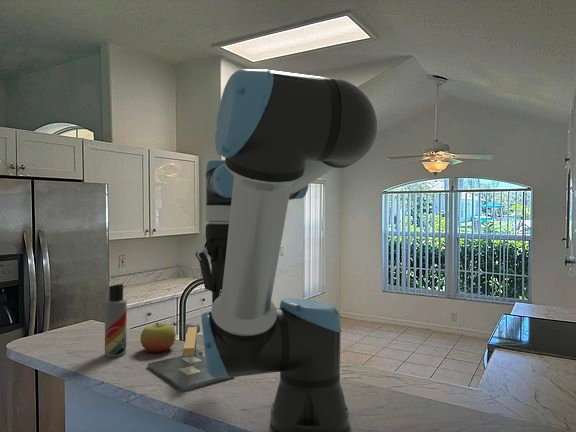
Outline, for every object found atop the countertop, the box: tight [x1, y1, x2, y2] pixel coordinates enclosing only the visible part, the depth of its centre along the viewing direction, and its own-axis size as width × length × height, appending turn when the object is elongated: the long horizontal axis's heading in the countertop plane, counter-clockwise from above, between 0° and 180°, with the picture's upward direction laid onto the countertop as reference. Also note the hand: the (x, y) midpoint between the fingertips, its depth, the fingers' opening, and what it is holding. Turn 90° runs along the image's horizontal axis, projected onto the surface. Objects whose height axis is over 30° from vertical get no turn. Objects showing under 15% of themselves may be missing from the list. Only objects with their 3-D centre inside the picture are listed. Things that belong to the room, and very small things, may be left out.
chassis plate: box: [147, 353, 231, 393], centre depth 107 cm, size 20×14×1 cm
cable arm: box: [183, 322, 201, 356], centre depth 111 cm, size 24×4×2 cm, turn 10°
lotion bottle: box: [104, 283, 128, 358], centre depth 120 cm, size 6×6×20 cm
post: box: [182, 343, 203, 356], centre depth 120 cm, size 4×4×6 cm
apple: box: [139, 322, 177, 353], centre depth 124 cm, size 10×10×8 cm
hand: (220, 317), depth 104 cm, fingers closed
